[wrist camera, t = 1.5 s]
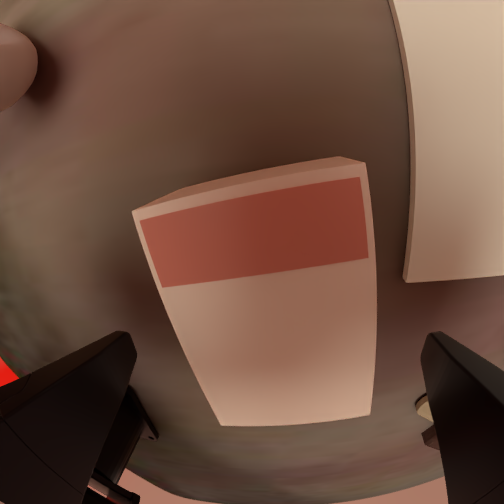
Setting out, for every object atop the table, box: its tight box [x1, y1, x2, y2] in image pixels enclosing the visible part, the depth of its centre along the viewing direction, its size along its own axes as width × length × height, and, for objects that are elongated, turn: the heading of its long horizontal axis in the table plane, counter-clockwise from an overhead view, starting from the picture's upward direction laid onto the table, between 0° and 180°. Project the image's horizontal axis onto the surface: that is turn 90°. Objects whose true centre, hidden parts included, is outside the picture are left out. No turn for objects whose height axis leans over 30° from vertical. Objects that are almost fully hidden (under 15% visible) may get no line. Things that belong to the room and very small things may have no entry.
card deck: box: [131, 156, 377, 426], centre depth 10 cm, size 9×6×4 cm, turn 13°
